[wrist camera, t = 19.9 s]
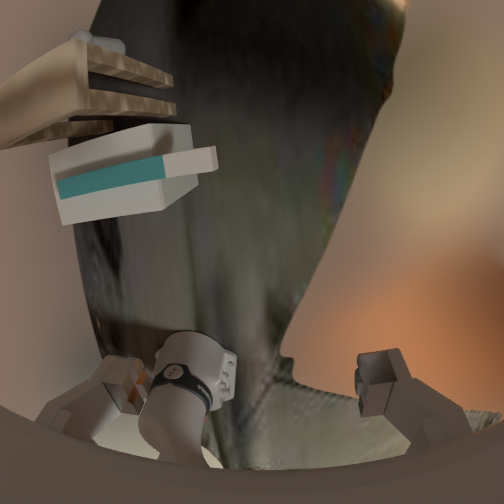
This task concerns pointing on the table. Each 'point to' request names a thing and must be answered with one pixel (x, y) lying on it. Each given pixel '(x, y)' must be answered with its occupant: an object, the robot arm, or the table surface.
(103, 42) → the salt shaker
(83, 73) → the wooden stand
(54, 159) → the white rectangular block
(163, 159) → the marker
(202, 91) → the table surface
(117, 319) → the table surface
